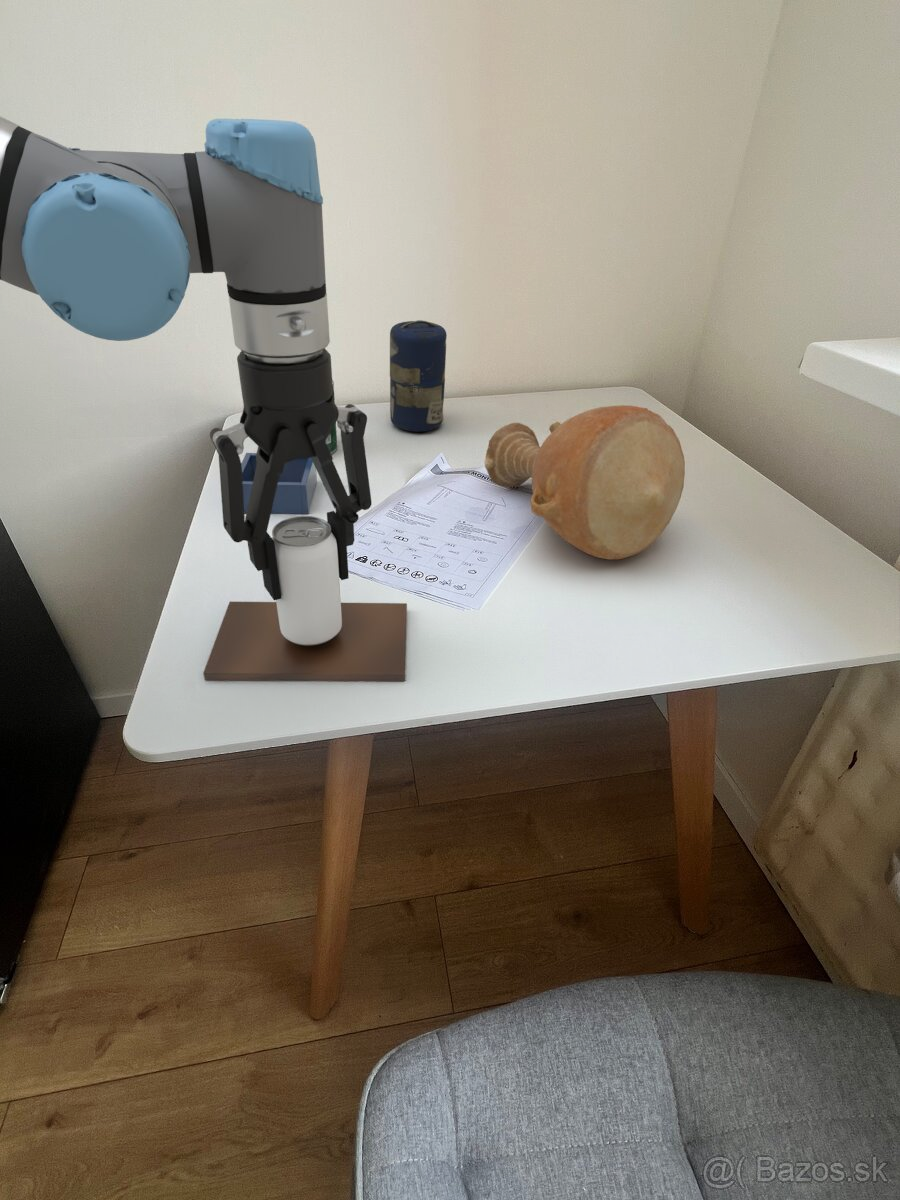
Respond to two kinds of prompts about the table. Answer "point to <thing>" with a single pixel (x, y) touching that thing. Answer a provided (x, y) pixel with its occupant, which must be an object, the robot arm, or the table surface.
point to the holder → (285, 485)
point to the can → (307, 580)
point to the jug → (597, 476)
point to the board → (354, 654)
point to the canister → (417, 375)
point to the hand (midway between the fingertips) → (306, 582)
